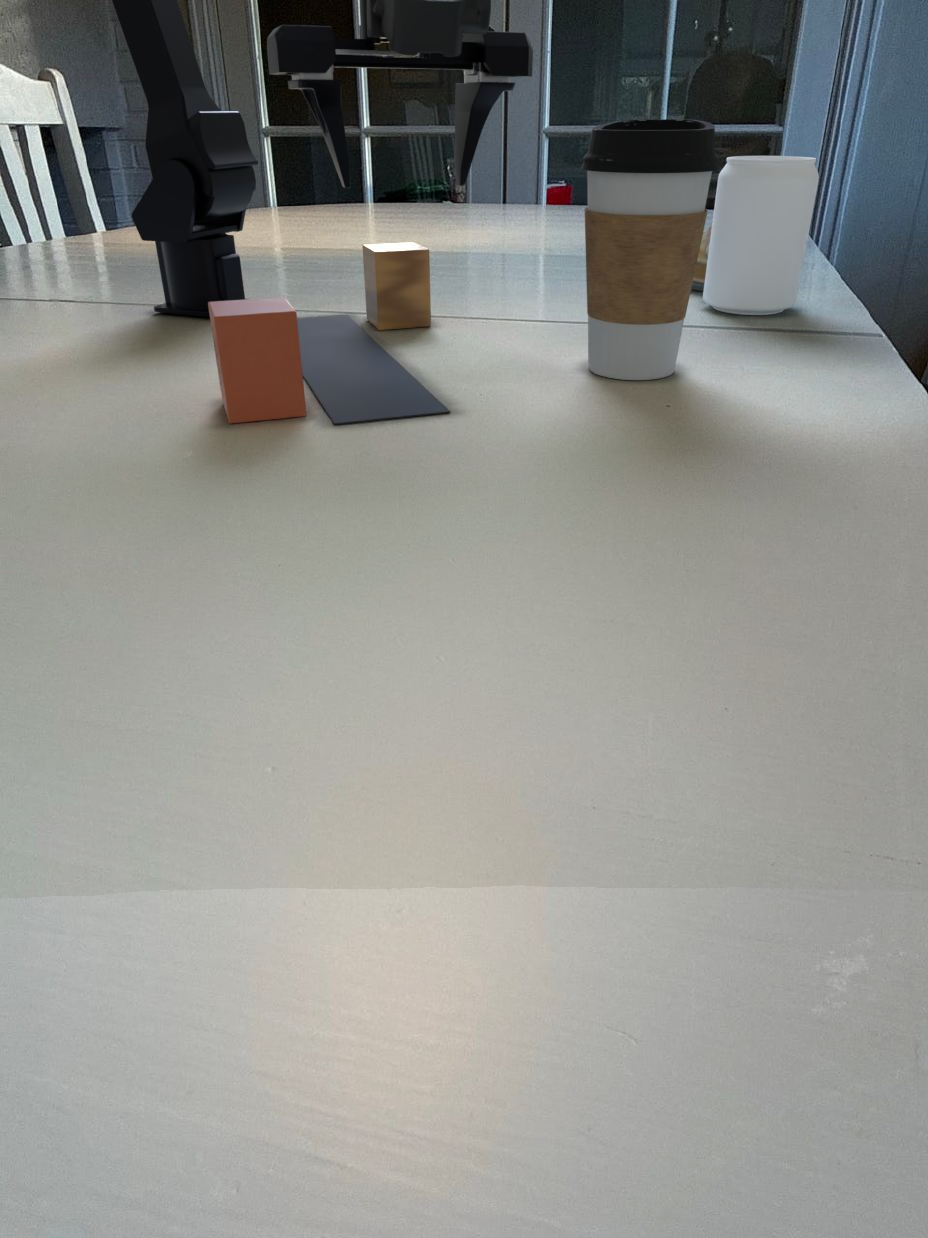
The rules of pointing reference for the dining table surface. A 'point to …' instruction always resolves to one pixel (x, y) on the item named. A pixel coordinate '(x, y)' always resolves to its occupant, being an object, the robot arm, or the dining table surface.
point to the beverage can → (760, 233)
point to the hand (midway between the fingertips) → (404, 186)
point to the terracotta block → (258, 359)
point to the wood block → (397, 285)
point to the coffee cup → (643, 240)
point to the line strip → (358, 374)
